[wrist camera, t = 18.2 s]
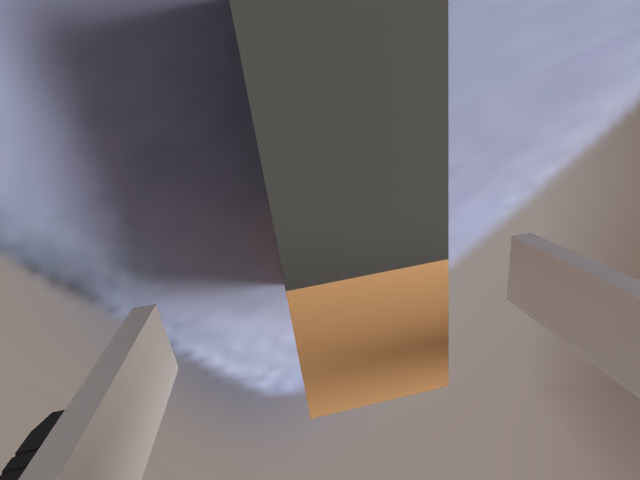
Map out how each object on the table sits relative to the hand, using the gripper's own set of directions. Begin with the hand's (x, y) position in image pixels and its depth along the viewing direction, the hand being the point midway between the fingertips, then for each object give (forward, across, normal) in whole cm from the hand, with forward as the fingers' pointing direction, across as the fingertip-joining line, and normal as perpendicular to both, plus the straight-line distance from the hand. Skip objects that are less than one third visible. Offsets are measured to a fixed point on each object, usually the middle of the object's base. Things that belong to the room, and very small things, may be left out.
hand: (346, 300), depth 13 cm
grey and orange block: (+4, 0, +5) cm, 7 cm away
